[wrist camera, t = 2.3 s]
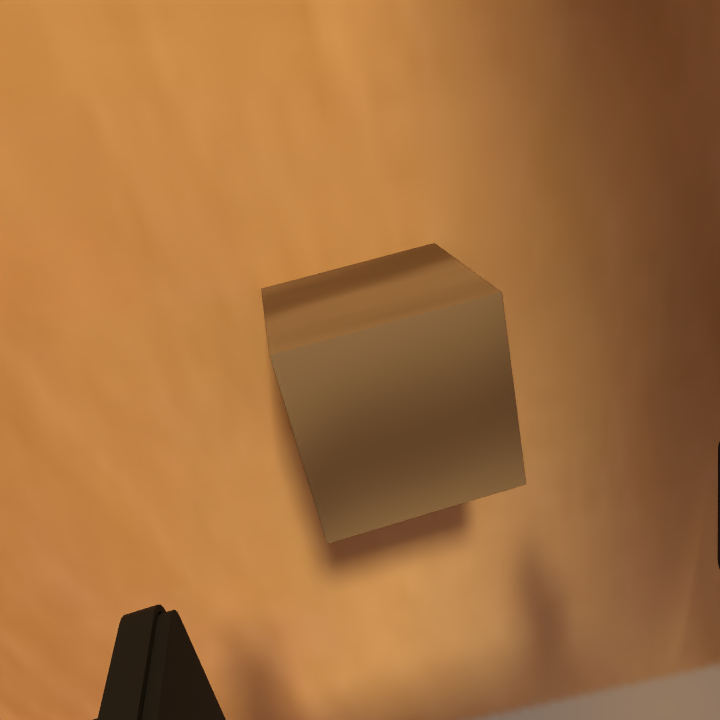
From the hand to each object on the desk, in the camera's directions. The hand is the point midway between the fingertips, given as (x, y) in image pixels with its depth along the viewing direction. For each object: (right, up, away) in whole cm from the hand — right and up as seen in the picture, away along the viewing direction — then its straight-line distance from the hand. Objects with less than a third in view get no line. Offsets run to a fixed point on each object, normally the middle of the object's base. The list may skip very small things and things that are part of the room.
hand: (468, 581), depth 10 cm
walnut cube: (-2, +4, +8) cm, 9 cm away
